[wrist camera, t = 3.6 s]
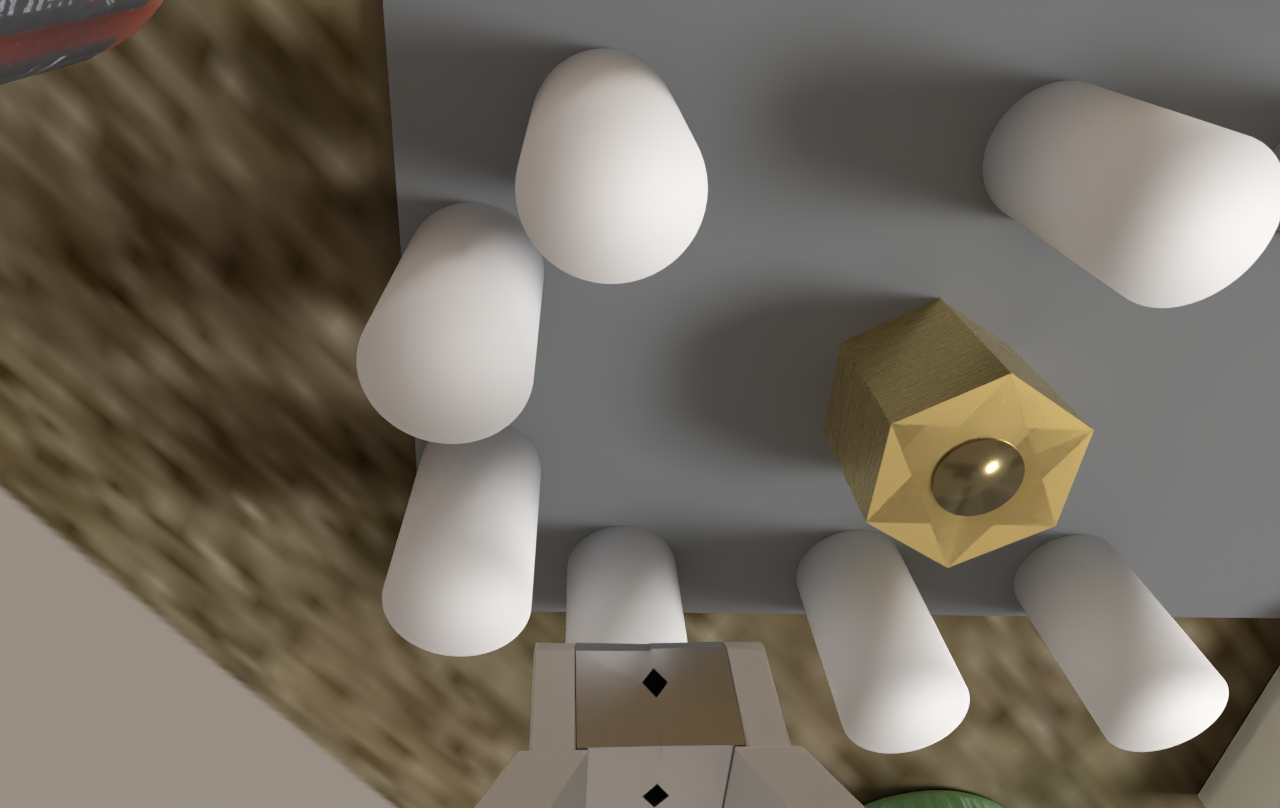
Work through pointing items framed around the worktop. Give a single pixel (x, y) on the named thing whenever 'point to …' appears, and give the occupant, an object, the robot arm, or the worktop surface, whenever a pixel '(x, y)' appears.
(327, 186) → the worktop surface
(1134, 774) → the worktop surface
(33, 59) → the supplement bottle
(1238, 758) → the ceramic dish
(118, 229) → the worktop surface
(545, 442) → the mat
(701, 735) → the robot arm
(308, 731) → the worktop surface
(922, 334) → the tan faceted block
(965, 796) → the ramekin
